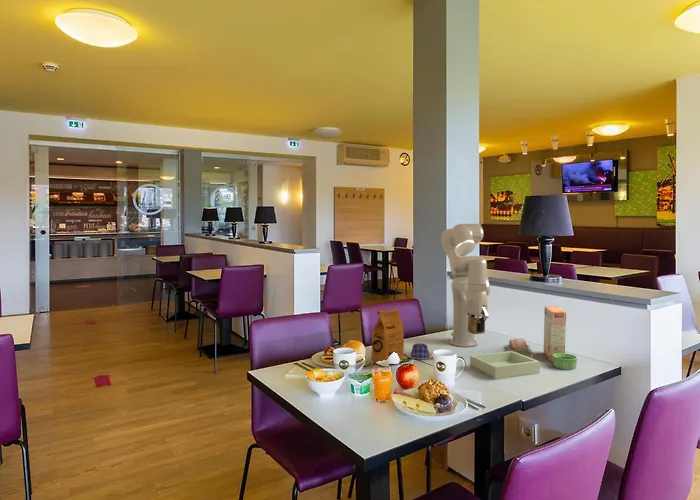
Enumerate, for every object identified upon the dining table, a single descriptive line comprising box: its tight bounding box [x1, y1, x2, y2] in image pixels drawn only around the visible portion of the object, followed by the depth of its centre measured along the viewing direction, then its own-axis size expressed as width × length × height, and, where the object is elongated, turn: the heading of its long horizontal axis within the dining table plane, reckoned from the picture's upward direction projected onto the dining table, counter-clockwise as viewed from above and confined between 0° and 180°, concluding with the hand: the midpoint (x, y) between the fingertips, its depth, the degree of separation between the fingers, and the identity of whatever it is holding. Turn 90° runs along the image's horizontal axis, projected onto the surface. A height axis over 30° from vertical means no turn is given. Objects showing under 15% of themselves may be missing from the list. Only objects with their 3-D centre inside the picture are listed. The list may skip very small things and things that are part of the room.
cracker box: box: [543, 305, 567, 363], centre depth 198 cm, size 14×6×21 cm, turn 168°
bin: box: [469, 350, 541, 380], centre depth 182 cm, size 16×20×4 cm
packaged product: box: [506, 337, 534, 359], centre depth 208 cm, size 18×5×10 cm
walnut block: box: [468, 316, 486, 335], centre depth 199 cm, size 5×5×6 cm
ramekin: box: [552, 352, 578, 371], centre depth 186 cm, size 9×9×4 cm
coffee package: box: [371, 307, 405, 364], centre depth 193 cm, size 10×12×22 cm
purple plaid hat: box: [405, 342, 433, 360], centre depth 203 cm, size 12×12×5 cm
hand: (476, 329), depth 199 cm, fingers closed on walnut block, 4 cm apart
